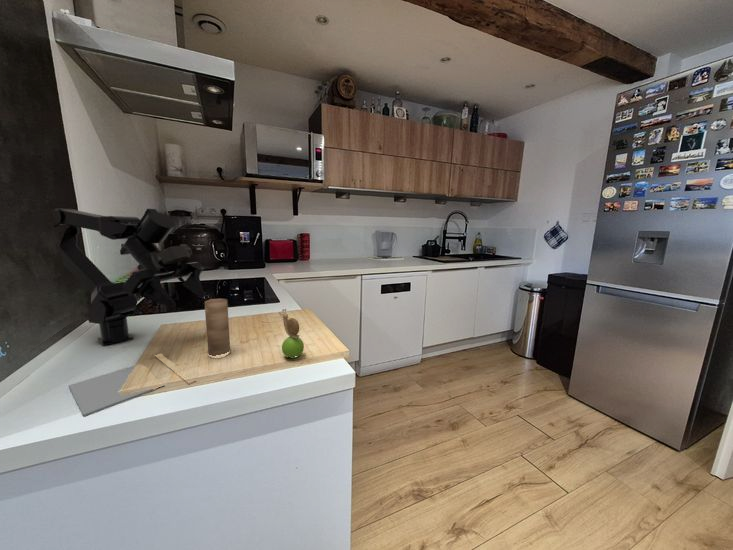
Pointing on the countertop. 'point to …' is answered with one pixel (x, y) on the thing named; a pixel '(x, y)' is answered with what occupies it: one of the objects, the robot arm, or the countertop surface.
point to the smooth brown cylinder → (217, 326)
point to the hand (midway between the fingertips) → (189, 301)
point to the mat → (102, 391)
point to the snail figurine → (292, 337)
